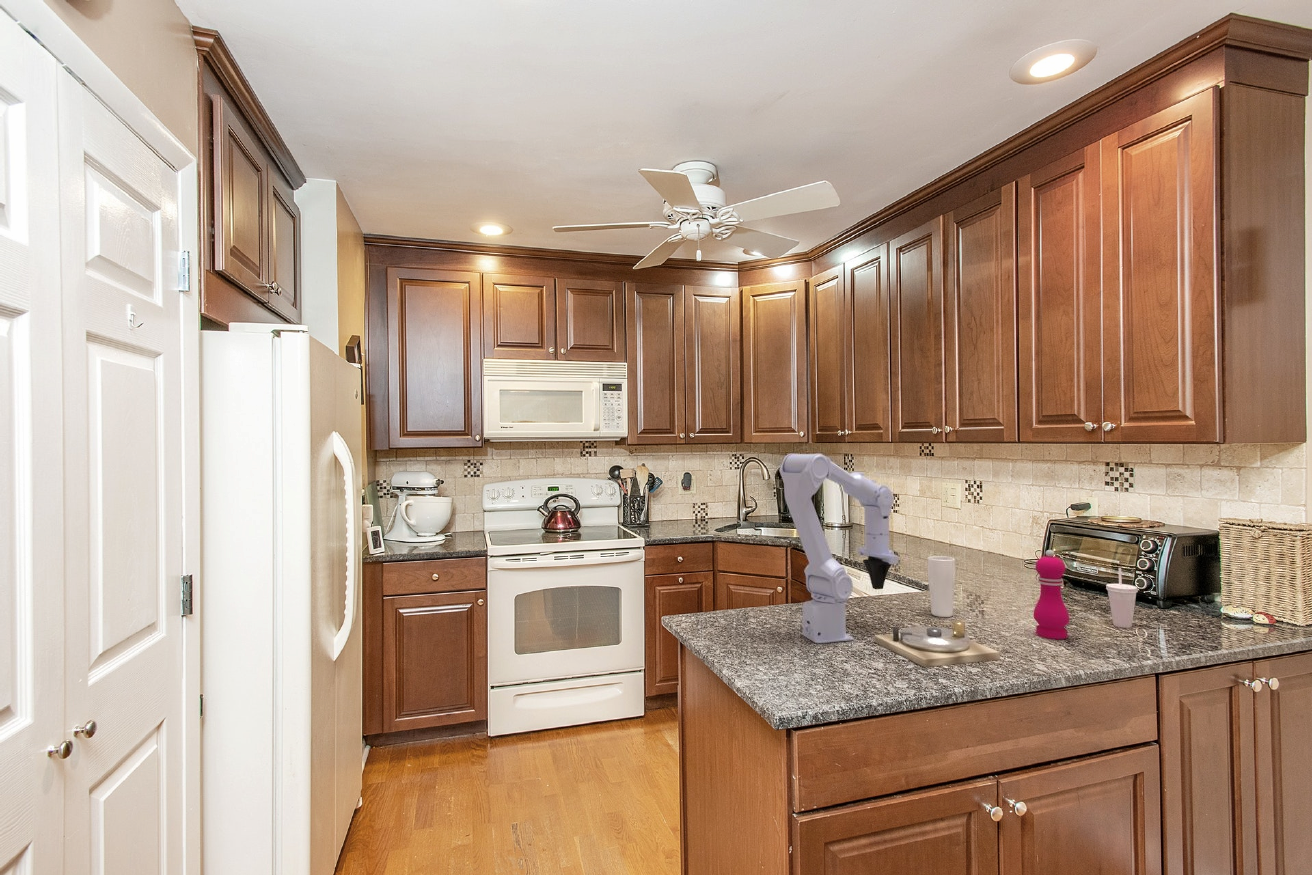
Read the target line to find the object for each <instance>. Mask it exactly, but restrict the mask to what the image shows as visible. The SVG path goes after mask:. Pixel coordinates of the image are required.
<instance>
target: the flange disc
mask: <svg viewBox="0 0 1312 875" xmlns="http://www.w3.org/2000/svg"><path fill="white" fill-rule="evenodd" d="M965 624H966V623H965V622H964V621H961V620H953V621H952V629H951V628H947V627H946V628H945V627H939V626H938V627H937V626H924V625H923V626H909V627H905V628H902V629H901V630H899V631H900V632H899V633H900V640H901V642H902V643H904V644H906V645H908V646H911V647H914V648H918V649H922V650H928V651H937V652H956V651H962V650H966V649H968V648H969V647H970V640H971V639H970V636H969V635H968V634H966V632H965V630H966V625H965Z"/></svg>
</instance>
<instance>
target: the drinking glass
mask: <svg viewBox="0 0 1312 875" xmlns="http://www.w3.org/2000/svg"><path fill="white" fill-rule="evenodd" d="M926 562H927V563H926V564H927V581H928V588H929V589H928V592H929V599H930V613H931V615H933V616H934V617H939V618H951V617H953V615H954V597H955V587H956V586H955V584H956V560H955V558H954V557H951V556H943V555H942V556H941V555H931V556H928V557H927V561H926Z"/></svg>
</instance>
